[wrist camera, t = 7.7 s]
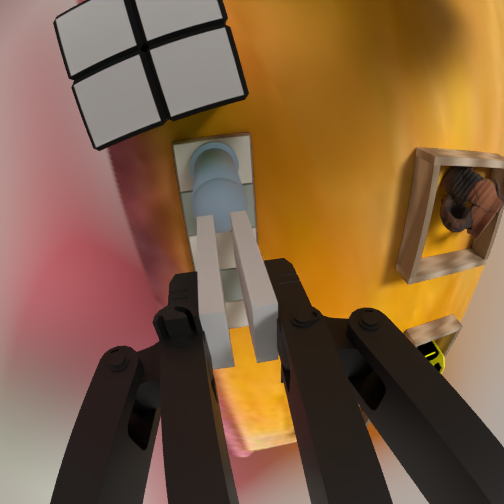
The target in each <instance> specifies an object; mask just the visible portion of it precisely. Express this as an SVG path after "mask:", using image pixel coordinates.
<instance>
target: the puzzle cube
mask: <svg viewBox="0 0 504 504" xmlns="http://www.w3.org/2000/svg"><path fill="white" fill-rule="evenodd" d="M227 19H228V17H227V13H226V10H225V7H224V3H223V0H86V1H84V2H82V3H80V4H78V5H76V6H74V7H73V8H71V9H69V10H67V11H65V12H64V13H62V14H60V15H58V16H57V17H56V19H55V21H54V23H53V24H54V28H55V32H56V35H57V40H58V43H59V47H60V51H61V54H62V58H63V61H64V64H65V68H66V71H67V74H68V77H69V79H72V80H74V82H73V85H72V91H73V93H74V96H75V99H76V103H77V105H78V108H79V111H80V114H81V117H82V119H83V122H84V125H85V128H86V130H87V133H88V135H89V138H90V141H91V143H92V146H93V148H94V149H96V150H99V151H100V150H103V149H105V148H107V147H109V146H112V145H114V144H116V143H119V142H121V141H123V140H126V139H128V138H131V137H133V136H135V135H138V134H140V133H143V132H146V131H148V130H151V129H153V128H156V127H159V126H162V125H164V123H165V122H166V121H167V120H168V119H170V120H172V121H175V120H178V119H181V118H184V117H187V116H190V115H193V114H197V113H200V112H203V111H206V110H210V109H213V108H216V107H220V106H223V105H227V104H230V103H234V102H238V101H242V100H245V99H246V97H247V96H248V94H249V92H248V88H247V85H246V81H245V77H244V74H243V70H242V66H241V63H240V59H239V56H238V52H237V49H236V45H235V42H234V38H233V35H232V32H231V28H230V27H229V26H227V25H225V24H226V21H227Z"/></svg>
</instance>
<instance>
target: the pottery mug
mask: <svg viewBox="0 0 504 504" xmlns="http://www.w3.org/2000/svg"><path fill="white" fill-rule="evenodd" d="M475 168H476V167H472V166H453V167H451V169H450V170H449V171H448V173H447V174H446V175H445V177H444V179H443V181H442V183H441V186H442V187H443V188H444V189H445V190H446V192H447V193H448V194H449V195H446V196H443V197H442V199H441V203H442V205H441V208H440V217H441V220H442V222H443V224H444V226H445V227H446V228H447V229H448V230H450V231H452V232H461V231H463V230H464V229H467V233H468V234H472V235H473V236H474V237H475V239H477V238H478V237H480V236H481V234H482V232H484V231H485V230H486V229H487V227H488V226H489V224H490V223H491V222H492V221H493V219H494V218H495V216H496V215H497V214H498V212H499V211H500V209H501V208H502V207H503V205H504V195H502V194H501V189H500V185H499V183H498V180H497V179H495V178H494V182H495V184H496V186H495V185H494V184H493V182H492V181H491V180H490V179H488V178H486V179H483V177H482V176H480V175H479V174H477V173H476V172H473V170H474V169H475ZM466 201H468V202H470V203H472V206H471V208H470V209H469V208H467V207H466V204H465V202H466Z"/></svg>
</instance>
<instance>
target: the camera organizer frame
mask: <svg viewBox="0 0 504 504" xmlns="http://www.w3.org/2000/svg"><path fill="white" fill-rule="evenodd" d="M461 328H462V325H461V323H460V322H459V321H458V320H457V318H456V317H455V316H454V314H452V315H449V316H446V317H443V318H440V319H438V320H435V321H432V322H429V323H426V324H423V325H419V326H416V327H413V328H410V329H407V330H406V331H405V334H404V335H405V336H406V337H407V338H408V339H409V340H410V341H411V342H412V343H413V344H414V345H415V346H416V348H417V347H418V346H419V345H422V344H425V343H427V342H430V341H433V340H436V339H438V340H437V342H436V345H437V346H438V348H439V349H440V351H441V352H442V354H443V355H444V358H445V356H446V355H447V353H448V351H449V350H450V348H451V346H452V344H453V343H454V341H455V339H456V337H457V335H458V334H459V332H460V330H461ZM439 364H440V363H439Z"/></svg>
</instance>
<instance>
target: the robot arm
mask: <svg viewBox="0 0 504 504" xmlns="http://www.w3.org/2000/svg"><path fill="white" fill-rule="evenodd" d="M230 220H231V229H232V239H233V248H234V256H235V263H236V268H237V273H238V277H239V282H240V287H241V292H242V296H243V301H244V306H245V310H246V315H247V320H248V324H249V329H250V333H251V338H252V342H253V347H254V351H255V356H256V360H257V363H260V362H265V361H271V360H276V359H278V353H279V356H280V360H281V383H284V386H285V390H286V395H287V399H288V403H289V408H290V412H291V417H292V421H293V425H294V430H295V434H296V438H297V443H298V447H299V452H300V456H301V460H302V465H303V469H304V474H305V478H306V482H307V487H308V491H309V496H310V500H311V504H393V503H392V499H391V497H390V493H389V490H388V488H387V484H386V481H385V478H384V475H383V472H382V469H381V466H380V464H379V461H378V458H377V455H376V452H375V449H374V446H373V444H372V441H371V438H370V435H369V432H368V430H367V427H366V424H365V421H364V419H363V416H362V413H361V411H360V408H359V406H360V407H361V408H362V410H363V411H364V413H365V414H366V415H367V417H368V418H369V420H370V421H371V422H372V424H373V425H374V426H375V428H376V429H377V431H378V432H379V434H380V435H381V436H382V438H383V439H384V441H385V442H386V443H387V445H388V446H389V447H390V449H391V450H392V452H393V453H394V455H395V456H396V457H397V459H398V460H399V462H400V463H401V465H402V466H403V467H404V469H405V470H406V472H407V473H408V474H409V476H410V477H411V479H412V480H413V481H414V483H415V484H416V485H417V487H418V488H419V490H420V491H421V493H422V494H423V495H424V497H425V498H426V500H427V501H428V502H429V504H504V447H503V446H502V445H501V443H500V442H499V441H498V440H497V438H496V437H495V436H494V435H493V434H492V432H491V431H490V430H489V429H488V428H487V426H486V425H485V424H484V423H483V422H482V420H481V419H480V418H479V417H478V416H477V414H476V413H475V412H474V411H473V410H472V409H471V407H470V406H469V405H468V404H467V403H466V402H465V400H464V399H463V398H462V397H461V396H460V395H459V394H458V393H457V391H456V390H455V389H454V388H453V387H452V386H451V385H450V384H449V383H448V381H446V379H445V378H444V377H443V376H442V375H441V374H440V372H439V371H438V370H437V369H436V368H435V367H434V366H433V365H432V364H431V363H430V362H429V360H428V359H427V358H426V357H425V356H424V355H423V354H422V353H421V352H420V351H419V350H418V349H417V348H416V346H415V345H414V344H413V343H412V342H411V341H410V340H409V339H408V338H407V337H406V336H405V335H404V334H403V333H402V332H401V331H400V330H399V329H398V328H397V327H396V326H395V325H394V323H393V322H392V321H391V320H390V319H389V318H388V317H387V316H386V315H385V314H383V313H382V312H381V311H379V310H376V309H373V308H360V309H357V310H355V311H354V312H352V314H351V315H350V317H349V319H342V318H330V317H326V316H323V315H322V314H321V312H320V311H319V310H317V309H316V308H314V307H312V305H311V303H310V301H309V299H308V297H307V295H306V292H305V290H304V288H303V286H302V284H301V282H300V281H299V278H298V275H297V274H296V271H295V269H294V267H293V265H292V264H291V263H290V262H288V261H287V260H286V259H285V258H280V259H273V260H266V261H263V259H262V256H261V253H260V250H259V247H258V244H257V241H256V238H255V236H254V233H253V230H252V227H251V224H250V221H249V218H248V216H247V213H246V210H244V211H236V212H230ZM153 325H154V327H155V330H156V332H157V335H158V337H159V340H160V341H159V342H158V343H156V344H155V345H153V346H151V347H149V348H146V349H144V350H141V351H138V352H136V351H135V350H133V349H132V348H131V347H127V346H117V347H114V348H112V349H110V350H108V351H107V352H106V353H105V354H104V355H103V356H102V358H101V359H100V362H99V364H98V367H97V369H96V371H95V374H94V376H93V378H92V381H91V383H90V386H89V388H88V391H87V393H86V396H85V398H84V401H83V403H82V406H81V409H80V411H79V414H78V417H77V419H76V422H75V425H74V428H73V430H72V433H71V436H70V439H69V442H68V445H67V448H66V451H65V454H64V457H63V460H62V464H61V467H60V470H59V473H58V477H57V480H56V484H55V488H54V491H53V495H52V499H51V502H50V504H143V498H144V492H145V488H146V483H147V478H148V472H149V468H150V463H151V458H152V453H153V448H154V444H155V439H156V435H157V430H158V426H159V421H160V417H161V424H162V442H163V456H164V468H165V478H166V487H167V497H168V504H239V501H238V496H237V492H236V488H235V483H234V479H233V474H232V469H231V465H230V459H229V454H228V449H227V444H226V439H225V434H224V428H223V423H222V418H221V412H220V406H219V400H218V395H217V389H216V383H215V379H214V375H213V369H220V368H227V367H234V359H233V353H232V347H231V340H230V333H229V327H228V320H227V313H226V306H225V299H224V292H223V285H222V277H221V270H220V262H219V255H218V248H217V241H216V234H215V227H214V220H213V215H207V216H200V217H197V271H195V272H188V273H181V274H175V276H174V277H173V279H172V280H171V282H170V285H169V297H168V306H166V307H164V308H163V309H161V310H159V312H158V313H157V314H156V315H155V317H154V320H153ZM212 367H213V368H212ZM358 404H359V405H358Z"/></svg>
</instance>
